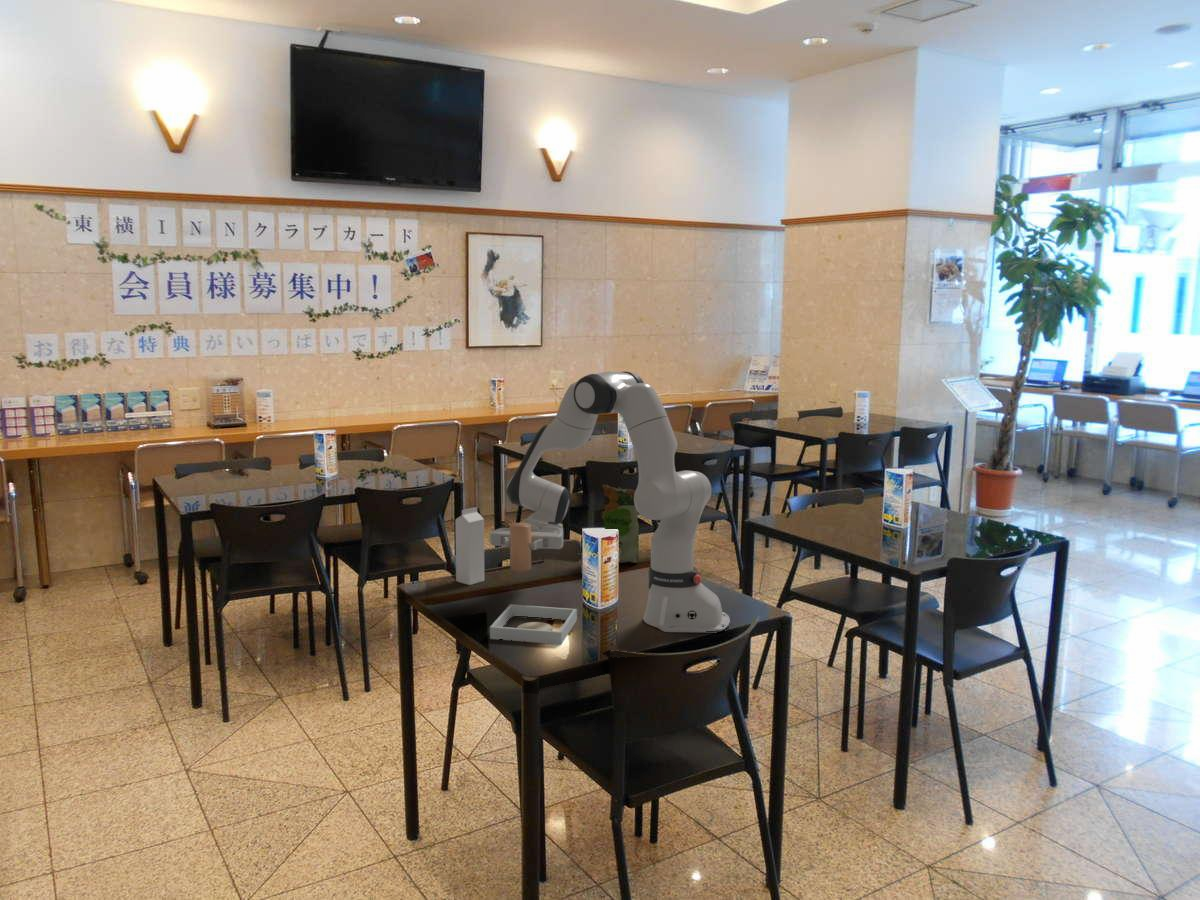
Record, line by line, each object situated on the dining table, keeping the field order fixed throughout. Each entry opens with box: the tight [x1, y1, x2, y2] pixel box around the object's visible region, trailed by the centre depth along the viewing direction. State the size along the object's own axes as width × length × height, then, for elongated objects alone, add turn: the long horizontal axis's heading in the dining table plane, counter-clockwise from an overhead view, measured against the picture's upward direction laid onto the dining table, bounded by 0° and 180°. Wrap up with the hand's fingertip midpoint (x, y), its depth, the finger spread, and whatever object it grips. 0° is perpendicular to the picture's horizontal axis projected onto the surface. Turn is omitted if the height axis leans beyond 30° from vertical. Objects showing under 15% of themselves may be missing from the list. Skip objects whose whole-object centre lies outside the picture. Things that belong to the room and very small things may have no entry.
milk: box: [454, 506, 485, 586], centre depth 273 cm, size 6×6×22 cm
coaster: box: [516, 621, 553, 631], centre depth 234 cm, size 9×9×1 cm
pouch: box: [601, 483, 640, 564], centre depth 295 cm, size 11×12×25 cm
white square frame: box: [489, 603, 578, 645], centre depth 234 cm, size 18×18×3 cm
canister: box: [509, 522, 532, 573], centre depth 248 cm, size 6×6×12 cm
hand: (519, 545), depth 247 cm, fingers closed on canister, 6 cm apart
